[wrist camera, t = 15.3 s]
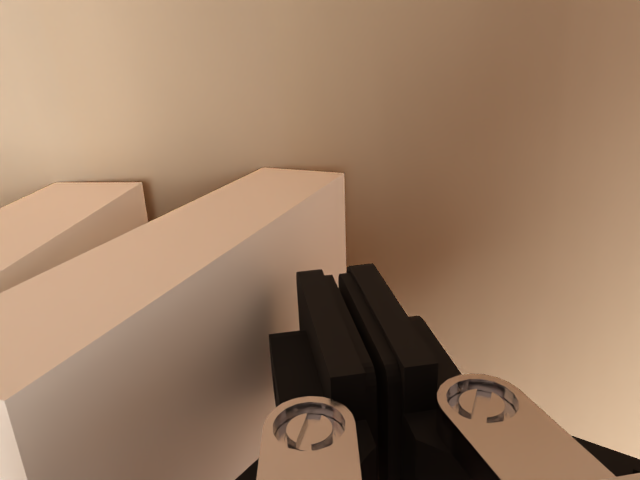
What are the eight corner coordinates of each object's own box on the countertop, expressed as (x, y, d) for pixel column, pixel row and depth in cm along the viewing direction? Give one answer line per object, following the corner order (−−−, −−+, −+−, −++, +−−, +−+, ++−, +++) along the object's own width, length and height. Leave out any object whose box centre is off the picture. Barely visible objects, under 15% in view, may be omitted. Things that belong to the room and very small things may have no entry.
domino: (344, 172, 14) (3, 400, 6) (347, 340, 16) (91, 701, 8) (263, 167, 15) (-133, 356, 7) (274, 326, 17) (-27, 634, 9)
